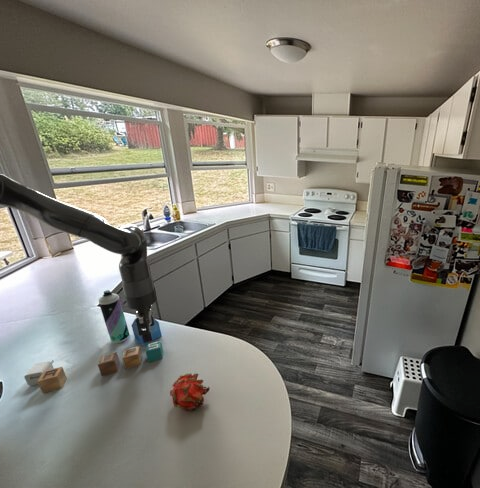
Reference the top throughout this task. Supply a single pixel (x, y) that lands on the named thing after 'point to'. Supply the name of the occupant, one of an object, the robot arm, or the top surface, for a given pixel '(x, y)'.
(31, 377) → the usb wall charger
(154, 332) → the perfume bottle
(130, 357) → the block
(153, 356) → the block
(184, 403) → the dragon fruit
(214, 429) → the top surface
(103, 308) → the spray can
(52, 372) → the block
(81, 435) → the top surface
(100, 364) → the block
